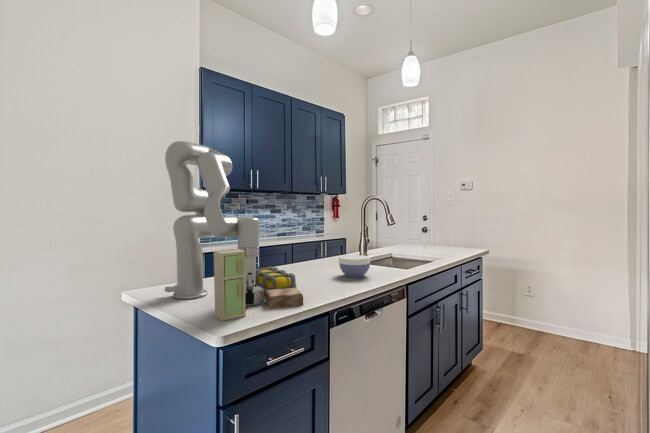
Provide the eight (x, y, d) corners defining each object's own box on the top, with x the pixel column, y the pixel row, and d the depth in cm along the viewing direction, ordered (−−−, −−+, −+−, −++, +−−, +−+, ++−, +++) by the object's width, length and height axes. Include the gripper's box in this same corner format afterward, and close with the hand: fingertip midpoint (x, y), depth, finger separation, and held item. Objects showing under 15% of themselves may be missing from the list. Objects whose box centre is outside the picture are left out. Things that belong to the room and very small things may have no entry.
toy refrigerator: (222, 322, 105) (221, 253, 104) (214, 316, 111) (213, 250, 110) (246, 317, 110) (246, 251, 109) (238, 311, 115) (237, 248, 115)
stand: (269, 308, 119) (269, 296, 119) (265, 300, 129) (265, 290, 129) (303, 305, 123) (303, 293, 123) (296, 298, 132) (296, 287, 132)
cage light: (273, 264, 163) (302, 275, 137) (273, 281, 163) (302, 295, 137) (243, 267, 155) (267, 279, 129) (243, 285, 155) (267, 300, 130)
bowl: (335, 273, 180) (335, 255, 180) (365, 272, 183) (365, 254, 183) (342, 279, 165) (342, 259, 164) (374, 278, 168) (374, 258, 167)
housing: (234, 307, 120) (234, 293, 119) (230, 302, 126) (230, 288, 125) (265, 303, 124) (265, 289, 124) (260, 299, 130) (260, 285, 130)
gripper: (236, 249, 132) (236, 295, 132) (239, 255, 115) (239, 309, 116) (256, 248, 134) (256, 294, 134) (262, 254, 117) (261, 307, 118)
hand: (248, 300), depth 125 cm, fingers closed on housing, 6 cm apart
